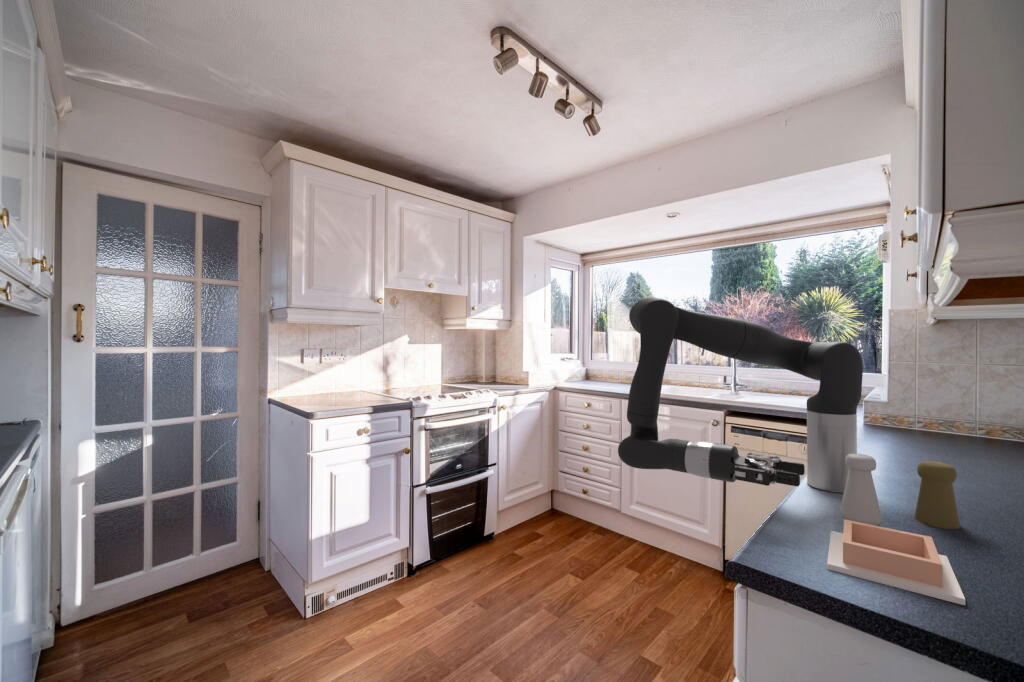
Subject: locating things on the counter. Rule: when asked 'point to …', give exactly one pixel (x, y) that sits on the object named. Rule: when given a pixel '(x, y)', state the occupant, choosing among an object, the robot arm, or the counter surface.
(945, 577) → the tray
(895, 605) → the counter surface
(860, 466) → the salt shaker
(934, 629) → the counter surface
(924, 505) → the pepper shaker
